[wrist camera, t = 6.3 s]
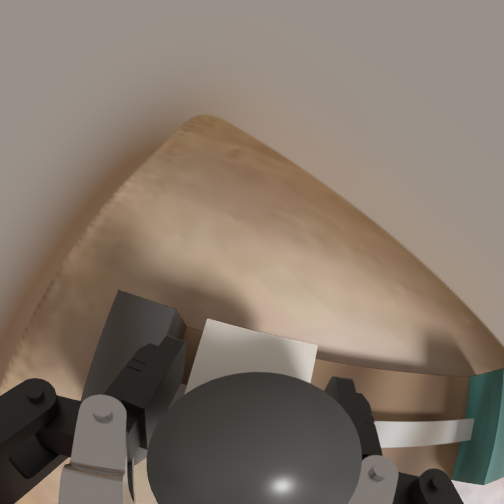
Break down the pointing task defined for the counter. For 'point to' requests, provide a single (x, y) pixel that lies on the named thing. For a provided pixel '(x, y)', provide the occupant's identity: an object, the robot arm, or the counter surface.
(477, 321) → the counter surface
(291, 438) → the carriage
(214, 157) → the counter surface
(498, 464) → the rail
